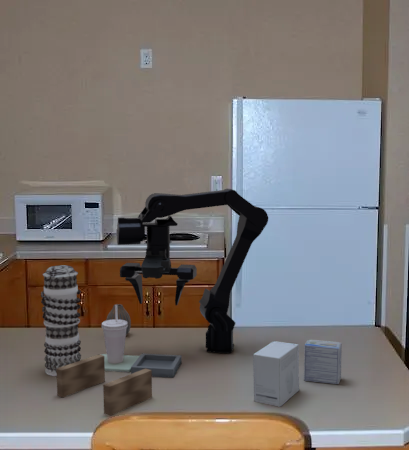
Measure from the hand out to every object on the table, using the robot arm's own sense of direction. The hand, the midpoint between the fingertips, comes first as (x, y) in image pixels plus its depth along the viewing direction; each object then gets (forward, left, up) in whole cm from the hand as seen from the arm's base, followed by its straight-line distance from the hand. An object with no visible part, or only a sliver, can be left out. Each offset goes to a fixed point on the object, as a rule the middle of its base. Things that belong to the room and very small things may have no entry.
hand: (158, 304), depth 165 cm
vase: (+15, -14, -13) cm, 24 cm away
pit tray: (-2, +11, -13) cm, 17 cm away
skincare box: (-31, +23, -13) cm, 41 cm away
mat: (+9, +9, -13) cm, 18 cm away
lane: (+5, +29, -13) cm, 32 cm away
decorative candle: (+20, +15, -13) cm, 28 cm away
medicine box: (-41, +12, -13) cm, 45 cm away
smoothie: (+9, +9, -13) cm, 18 cm away
